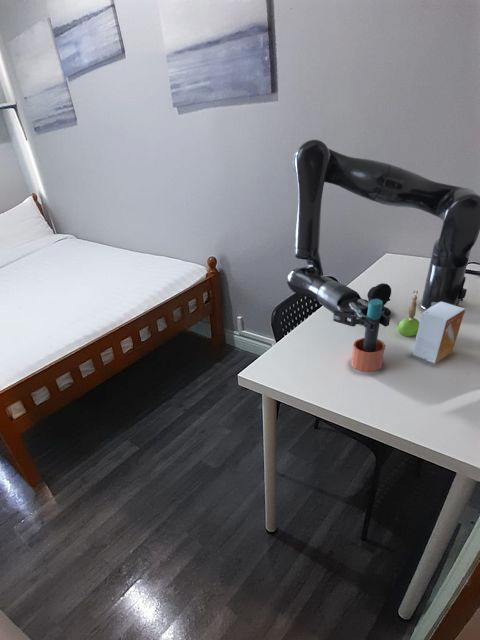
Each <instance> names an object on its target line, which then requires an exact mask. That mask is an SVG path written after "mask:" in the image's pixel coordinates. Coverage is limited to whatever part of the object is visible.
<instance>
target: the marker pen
mask: <svg viewBox="0 0 480 640" xmlns="http://www.w3.org/2000/svg"><path fill="white" fill-rule="evenodd" d="M368 302H369V305H368V313H367V317H368V318H370V319H372V320H373V321H375V322H376V323H377V326H376V330H374V331H372V330H369V329H367V328H366V327H365V329H364V331H365V332H364V337H363V338H364V345H363V351H364V352H375V351H376V345H377V339H378V337H379V331H380V325H381V324H380V318H381V311H382V304H383V301H381V300H379V299H372V300H370V301H369V300H368Z"/></svg>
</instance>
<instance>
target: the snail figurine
mask: <svg viewBox="0 0 480 640" xmlns="http://www.w3.org/2000/svg"><path fill="white" fill-rule="evenodd" d="M412 293H413V295H412V296H411V302H410V304H409V307H408V317H405V318H403V319H402V320H401V321H400V322H399V324H398V326H397V329H398V332H399V334H401V335H402V336H403V337H407V338H410V337H415V336H417V332H418V327H419V323H420V320H418V319H417V318H415V316H416V311H417V300H418V293H419V291H418V290H413V291H412Z"/></svg>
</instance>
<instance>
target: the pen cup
mask: <svg viewBox="0 0 480 640" xmlns="http://www.w3.org/2000/svg"><path fill="white" fill-rule="evenodd" d="M363 345H364V337H361V338H358V339H356V340H355V341H354V342H353V345H352V352H351V362H350V364H351V366H352V368H354V369H355V370H357V371H360V372H362V373H374V372H377V371H379V370H381V369H382V368H383V362H384V358H385V351H386V343H385V342H384V341H382V340H380V339H378V338H377V345H376V351H375V352H364V351H363Z"/></svg>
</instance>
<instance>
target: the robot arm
mask: <svg viewBox="0 0 480 640" xmlns="http://www.w3.org/2000/svg"><path fill="white" fill-rule="evenodd" d="M292 169H293V170H294V172H295V174H296V181H297V190H298V197H297V199H298V200H297V211H296V212H297V213H296V220H295V228H294V245H293V246H294V247H293V248H294V250H293V253H294V257H295V258H296V259H298V260H305V261H306V265H307V266H300V267H295V268H293V269H291V270H290V271H289V273H288V274H287V276H286V277H287V278H286V284H287V286H288V288H289V289H290V290H291V291H292V292H293V293H295V294H297V295H299V296H303V297H306V298H310V299H313V300H314V301H316V302H317V303H319V304H320V305H321V306H322V307H323V308H324V309H326V310H328V311H329V312H331V313H332V314H333V316H332V317H333V318H332V321H333V322H336V323H339V324H341V325H345V326H346V325H347V326H349V327H353V328H354V327H356V325H358V326H362V327H364V328H365V329H366V328H367V329H369V330H372V331H374V330H376V326H377V323H376V322H375V321H373V320H372V319H370V318H368V317H367V313H368V305H369V299H368V300H367V299H365V298H362V297H361V296H360V293H358V292H357V290H354V289H353V288H351V287H349V286H348V285H345V284H344V283H341V282H339V281H336V280H334V279H332V278H330V277H328V276H326V275H324V270H323V265H322V261H321V255H320V242H321V241H320V240H321V219H322V218H321V217H322V216H321V214H322V201H323V195H324V194H323V192H324V187H325V183H326V184H331V185H333V186H337V187H340V188H342V189H344V190H346V191H348V192H350V193H353V194H354V195H357V196H359V197H361V198H363V199H366V200H369V201H372V202H375V203H378V204H380V205H384V206H387V207H388V206H389V207H395V208H407V209H408V208H409V209H415V210H420V211H423V212H426V213H428V214H430V215H432V216H434V217H436V218H438V219H440V220H441V221H442V226H441V230H440V233H439V238H438V239H437V240H435V241H434V243H433V248H432V252H431V257H430V262H429V267H428V269H427V276H426V280H425V284H424V289H423V294H422V297H421V302H420V308H421V309H422V310H423V311H425V310H427V309H429V308H430V307H432V306H434V305H435V304H437V303H439V302H445V303H448V304H451V305H455V306H458V307H459V304H460V302H463V301H464V299H465V298H466V294H467V292H468V289H467V288H464V286H465V283H466V279H467V278H466V276H465V274H466V271H467V267H468V263H469V259H470V256H471V251H472V249H473V247H474V246H475V244H477V240H478V238H479V234H480V194H479V193H477V192H476V191H474V190H473V189H471V188H468V187H463V186H457V185H451V184H447V183H442V182H437V181H434V180H431V179H429V178H426V177H425V176H422V175H420V174H418V173H416V172H414V171H410V170H408V169H405V168H403V167H400V166H397V165H395V164H392V163H389V162H388V163H387V162H385V161H379V160H375V159H367V158H359V157H353V156H349V155H346V154H342V153H341V152H338V151H335V150H333V149H331V148H329V147H328V146H327V145H326V143H324V141H322V140H319V139H309V140H307V141H305V142H303V143H302V144H301V145H299V147H298V148H297V149H296V150H295V152H294V154H293V157H292ZM375 299H379V298H375ZM379 300H380V299H379ZM385 307H386V306H385V305H383V304H382V311H381V318H380V324H379V325H381V326H383V327H384V328H386V327H389V326H390V322H391V318H390V316H389V317H388V316H386V315H384V311H385ZM349 320H350V321H349Z"/></svg>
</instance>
